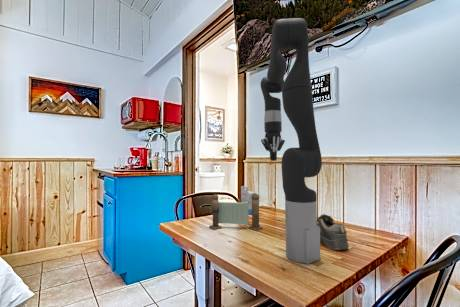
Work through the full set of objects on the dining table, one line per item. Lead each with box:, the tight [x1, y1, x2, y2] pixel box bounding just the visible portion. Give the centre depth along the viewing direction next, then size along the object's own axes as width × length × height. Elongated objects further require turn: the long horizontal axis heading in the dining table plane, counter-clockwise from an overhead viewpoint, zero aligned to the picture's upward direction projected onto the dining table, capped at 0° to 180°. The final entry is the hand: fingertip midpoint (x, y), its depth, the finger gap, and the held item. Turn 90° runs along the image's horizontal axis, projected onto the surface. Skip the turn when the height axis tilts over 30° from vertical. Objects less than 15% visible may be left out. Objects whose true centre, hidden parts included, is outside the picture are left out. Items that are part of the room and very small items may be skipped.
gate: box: [218, 200, 249, 227], centre depth 111 cm, size 15×2×10 cm, turn 78°
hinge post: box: [248, 192, 263, 231], centre depth 108 cm, size 4×4×15 cm
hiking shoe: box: [317, 213, 350, 251], centre depth 91 cm, size 9×21×12 cm, turn 17°
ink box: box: [240, 185, 257, 216], centre depth 139 cm, size 9×5×15 cm, turn 25°
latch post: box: [208, 193, 222, 231], centre depth 110 cm, size 4×4×15 cm
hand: (273, 160), depth 112 cm, fingers closed
